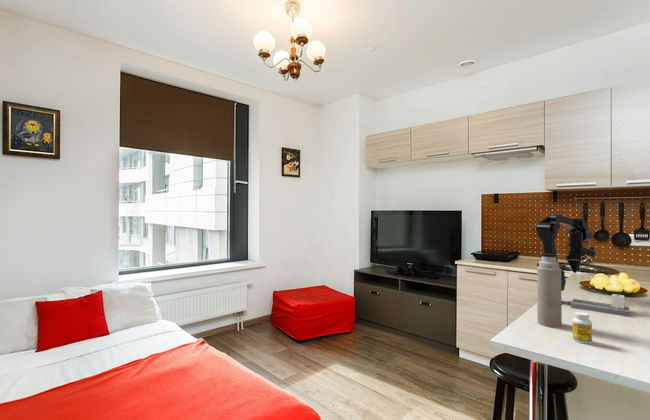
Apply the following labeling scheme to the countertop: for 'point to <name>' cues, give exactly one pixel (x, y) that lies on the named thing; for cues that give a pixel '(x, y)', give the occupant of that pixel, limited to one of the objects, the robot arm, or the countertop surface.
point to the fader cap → (618, 301)
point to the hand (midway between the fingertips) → (576, 271)
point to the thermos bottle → (549, 292)
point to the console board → (599, 307)
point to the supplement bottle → (582, 328)
